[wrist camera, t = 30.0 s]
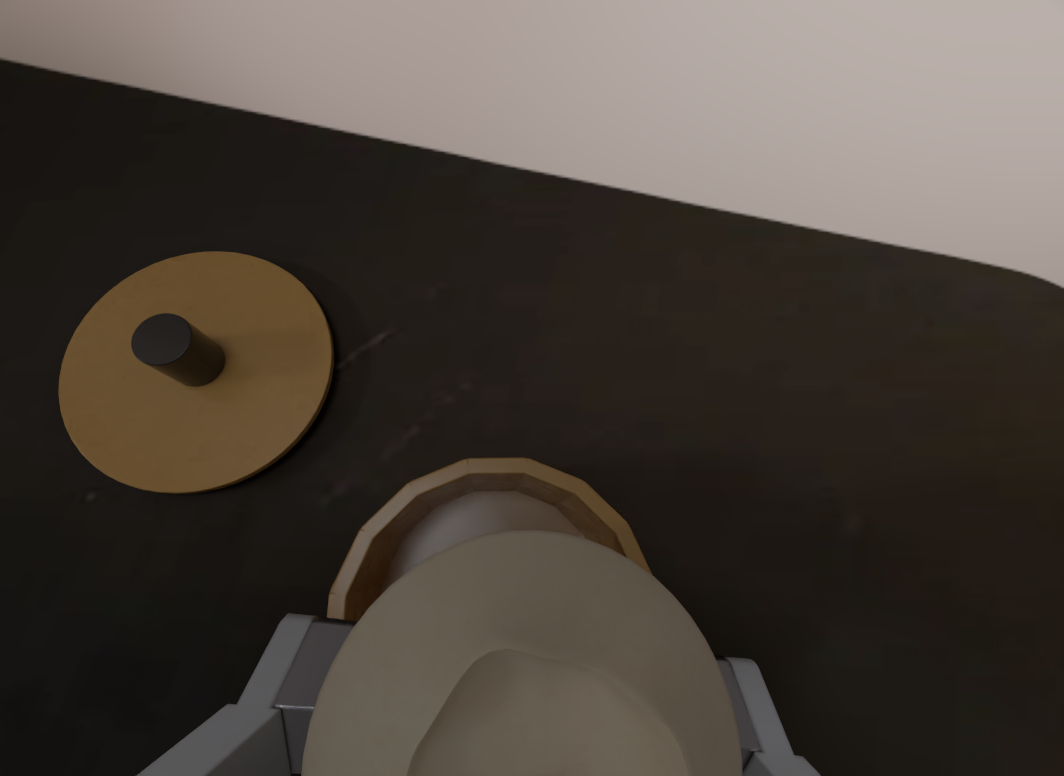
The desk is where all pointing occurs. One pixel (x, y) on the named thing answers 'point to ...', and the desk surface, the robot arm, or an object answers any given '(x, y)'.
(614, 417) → the desk surface
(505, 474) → the tin
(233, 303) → the tin lid
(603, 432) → the desk surface
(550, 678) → the candle
